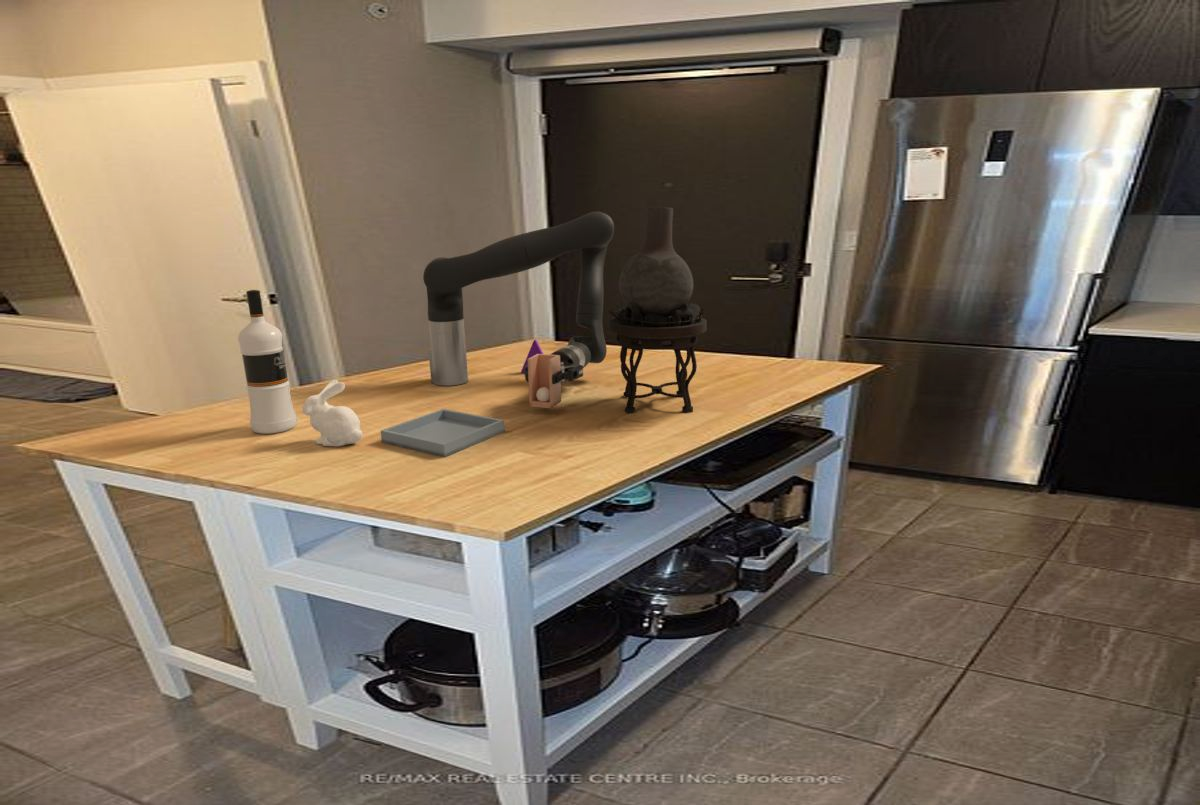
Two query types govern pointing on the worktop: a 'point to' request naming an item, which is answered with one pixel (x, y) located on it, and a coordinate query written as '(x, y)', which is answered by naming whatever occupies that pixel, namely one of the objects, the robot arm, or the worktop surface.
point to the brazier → (657, 308)
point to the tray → (443, 432)
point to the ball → (543, 394)
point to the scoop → (543, 379)
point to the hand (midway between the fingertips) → (540, 378)
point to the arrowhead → (532, 353)
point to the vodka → (265, 372)
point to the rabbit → (332, 418)
